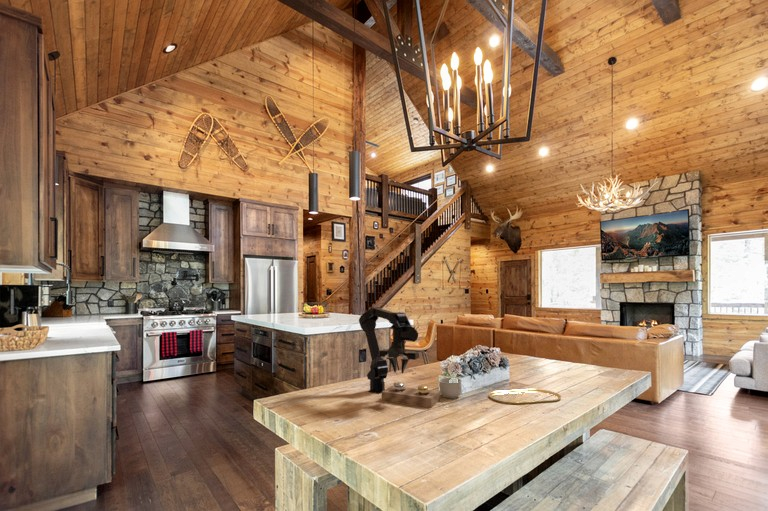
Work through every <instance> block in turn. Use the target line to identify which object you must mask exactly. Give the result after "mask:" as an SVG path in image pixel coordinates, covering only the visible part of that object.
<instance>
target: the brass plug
mask: <svg viewBox="0 0 768 511" xmlns="http://www.w3.org/2000/svg"><path fill="white" fill-rule="evenodd" d="M417 389H419V395H427V390H429V386H428V385H426V384H425V385H424V384H421V385H418V386H417Z"/></svg>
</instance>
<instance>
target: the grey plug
mask: <svg viewBox="0 0 768 511" xmlns="http://www.w3.org/2000/svg"><path fill="white" fill-rule="evenodd" d="M393 386H395V391H396V392H403V387H405V384H404V382H394V383H393Z"/></svg>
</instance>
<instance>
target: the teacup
mask: <svg viewBox="0 0 768 511" xmlns="http://www.w3.org/2000/svg"><path fill="white" fill-rule="evenodd" d="M451 378H452V376H451V377H450V376H449V377H447V376H443V377H442V378H440V379H439V380H438V384H439V385H438V386H439V392H440V394H441V395H442V397H444V398H446V399H456V398H458V397H459V396H460V395H461V394H462V389H463V386H462V379H461V378H459V377H456V378H457V379H458V383H449V380H450V379H451Z"/></svg>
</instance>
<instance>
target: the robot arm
mask: <svg viewBox="0 0 768 511" xmlns="http://www.w3.org/2000/svg"><path fill="white" fill-rule="evenodd" d="M379 318H381V319H384V320H387V321H388V322H389V323H390V324H391V326H390V327H389V329H390V330H392V341H391V345H390V347H389V348H388V349H387V348H383V349H381V350H380V347H379V342H378V339H377V334H376V330H375V329H376V326H377V321H378V319H379ZM358 322H359V327H360V328H361V329H362V330H363V332H364V334H365V336H366V341H367V345H368V349H369V354H370V358H371V362H370V367H369V368H370V370H369V372H368V373H367V374H366V377H367V380H369V390H368V392H369V393H375V394H382V391H384V390H386V389H385V385H386V384H385V381H384V380H385V379H387V376H388V372H389V366H388V361H389V362H390V364H391V366H392V369H393V372H394V373H397V365H398V364H397V362H398V361H397V360H398V357H402V358H401V359H400V361H401V369H400V370H401V374H403V373H404V372H405V369H406V366H407V365H408V363H409V361H410V360H413V361H414V360H418V359H420V352H419V351H408V352H407V350H406V344H407V342H416V341H417V340H418V338H419V332H418V331H417V329H416V326H415V325H413V326H412V324H411V322H410V320H409V318H408V315H407V313H405V312H401V311H399V312H397V311H395V312H393V311H390V310H386V309H384V308H381V307H379V306H376V307H375V306H374V307H370V308H369V309H368V310H367V311H365V312H364V313H362V314H361V315H360V317H359V318H358ZM406 341H407V342H406ZM386 356H387V357H386ZM385 357H386V359H384V358H385ZM387 360H388V361H387Z"/></svg>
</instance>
